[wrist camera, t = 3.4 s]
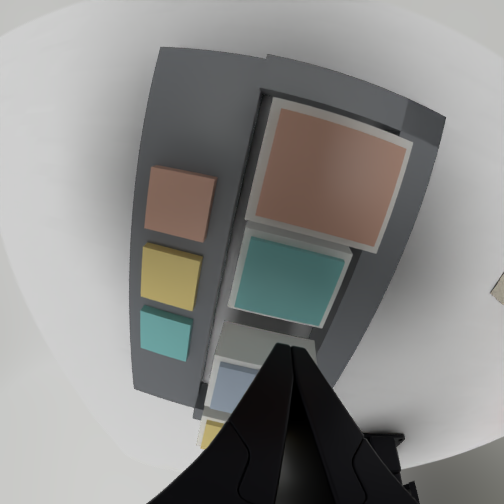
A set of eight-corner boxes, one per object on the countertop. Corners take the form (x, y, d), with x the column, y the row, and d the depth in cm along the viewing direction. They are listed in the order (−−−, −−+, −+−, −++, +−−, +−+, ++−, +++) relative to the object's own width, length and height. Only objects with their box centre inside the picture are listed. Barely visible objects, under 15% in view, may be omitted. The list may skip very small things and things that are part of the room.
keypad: (297, 413, 21) (297, 438, 19) (140, 375, 21) (129, 397, 19) (422, 117, 12) (446, 117, 10) (171, 53, 12) (152, 42, 10)
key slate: (290, 372, 16) (290, 427, 13) (217, 356, 16) (202, 409, 13) (312, 324, 15) (318, 381, 11) (229, 304, 15) (213, 359, 11)
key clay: (352, 219, 12) (378, 257, 9) (255, 193, 12) (242, 222, 9) (377, 137, 11) (417, 143, 7) (275, 106, 11) (273, 95, 7)
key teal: (315, 287, 16) (322, 332, 13) (238, 269, 16) (226, 310, 13) (337, 225, 15) (354, 257, 11) (254, 203, 15) (244, 229, 11)
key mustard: (269, 415, 18) (265, 462, 15) (207, 401, 18) (195, 448, 15) (286, 382, 17) (284, 436, 13) (215, 367, 17) (200, 419, 13)
